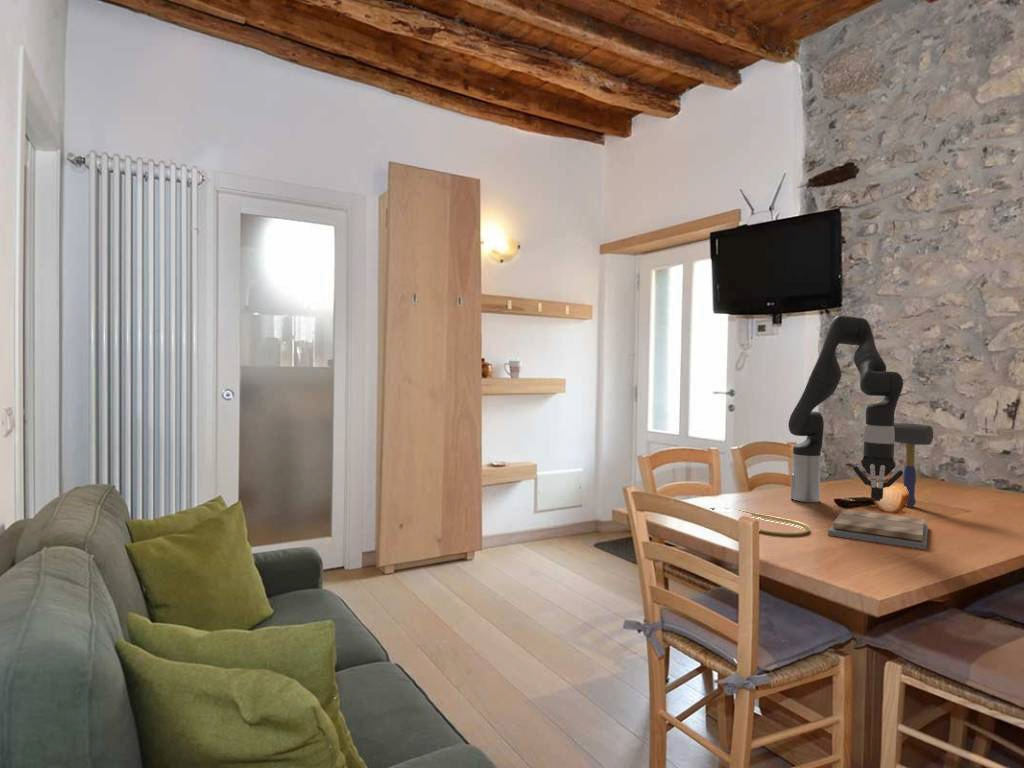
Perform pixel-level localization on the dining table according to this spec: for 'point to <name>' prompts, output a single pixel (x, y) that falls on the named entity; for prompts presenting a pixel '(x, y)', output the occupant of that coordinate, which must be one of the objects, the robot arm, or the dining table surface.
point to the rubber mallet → (912, 451)
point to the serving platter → (780, 521)
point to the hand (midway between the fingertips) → (876, 500)
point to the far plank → (883, 516)
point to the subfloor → (881, 538)
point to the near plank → (878, 529)
